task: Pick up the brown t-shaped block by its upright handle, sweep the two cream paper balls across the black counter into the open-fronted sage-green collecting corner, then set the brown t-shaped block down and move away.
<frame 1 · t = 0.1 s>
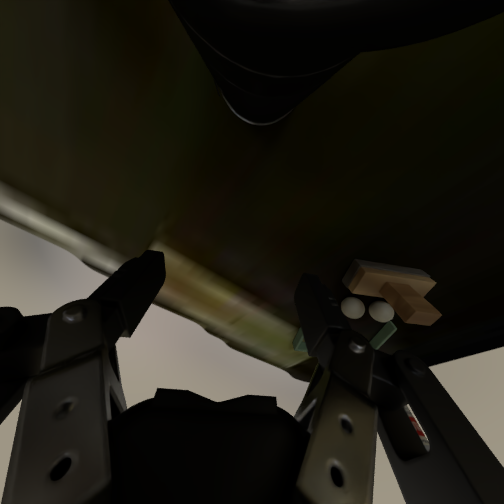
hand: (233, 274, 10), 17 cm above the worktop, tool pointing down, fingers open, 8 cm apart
paper ball b: (380, 311, 35), point 2 cm above the worktop
paper ball a: (352, 307, 34), point 2 cm above the worktop
brown t-shaped block: (380, 275, 32), on the worktop
corral: (339, 331, 41), on the worktop
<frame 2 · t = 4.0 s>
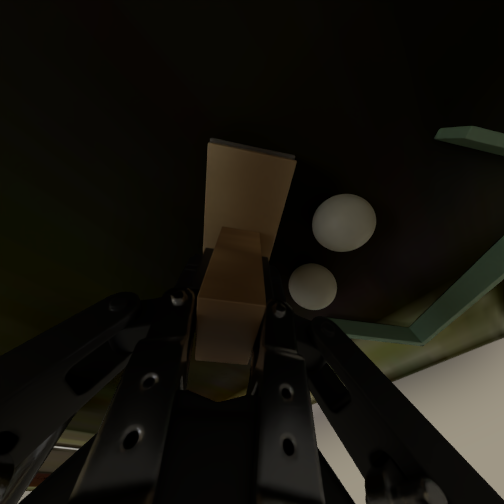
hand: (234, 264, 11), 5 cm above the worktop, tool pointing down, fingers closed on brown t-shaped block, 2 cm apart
paper ball b: (341, 223, 13), point 2 cm above the worktop
paper ball a: (311, 286, 16), point 2 cm above the worktop
brown t-shaped block: (239, 233, 15), on the worktop, touching gripper
corral: (417, 262, 17), on the worktop
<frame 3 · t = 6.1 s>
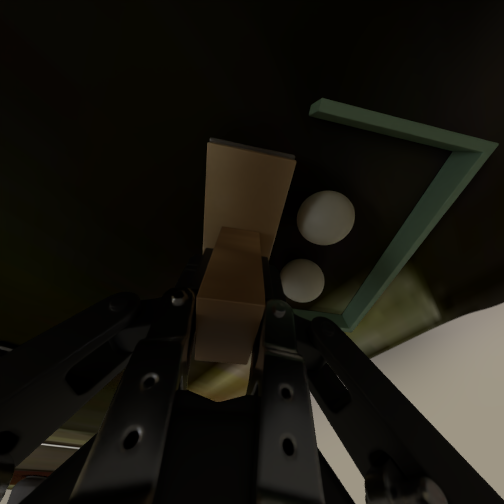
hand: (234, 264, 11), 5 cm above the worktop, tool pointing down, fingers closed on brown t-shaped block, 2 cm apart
paper ball b: (324, 218, 13), point 2 cm above the worktop, tilted 150°
paper ball a: (301, 280, 16), point 2 cm above the worktop, tilted 142°
brown t-shaped block: (239, 233, 15), point 1 cm above the worktop, touching gripper
coffee pot: (24, 475, 74), on the worktop
corral: (330, 245, 17), on the worktop
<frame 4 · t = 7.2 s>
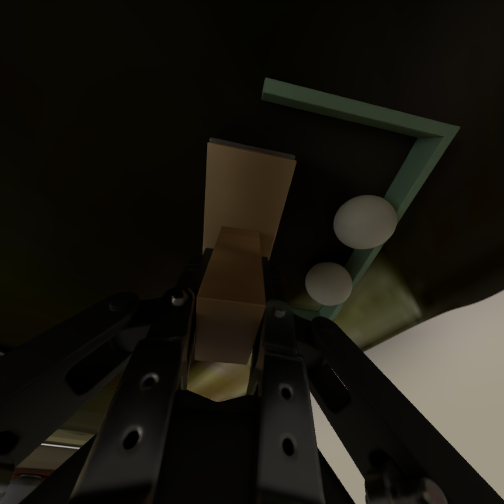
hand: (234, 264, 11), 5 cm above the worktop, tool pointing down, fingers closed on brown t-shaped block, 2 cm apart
paper ball b: (362, 222, 13), point 2 cm above the worktop, tilted 26°
paper ball a: (327, 283, 16), point 2 cm above the worktop, tilted 20°
brown t-shaped block: (239, 233, 15), point 1 cm above the worktop, touching gripper
coffee pot: (18, 474, 74), on the worktop
corral: (299, 239, 16), on the worktop
when the fingers open (5 cm above the worktop, at t = 9.5 s): brown t-shaped block stays where it is, on the worktop.
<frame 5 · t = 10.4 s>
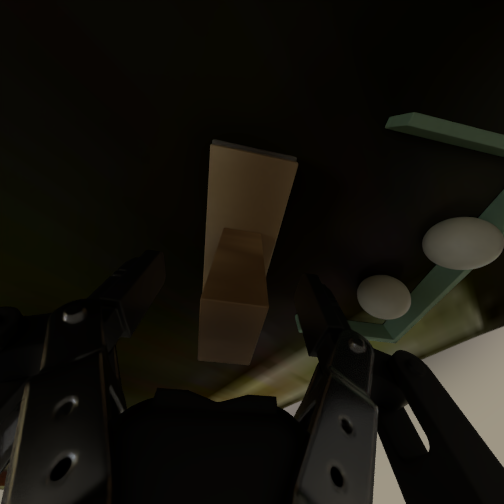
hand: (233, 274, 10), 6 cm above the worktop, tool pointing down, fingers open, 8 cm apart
paper ball b: (458, 243, 13), point 2 cm above the worktop, tilted 12°
paper ball a: (382, 296, 16), point 2 cm above the worktop, tilted 63°
brown t-shaped block: (240, 234, 15), on the worktop
corral: (383, 257, 16), on the worktop
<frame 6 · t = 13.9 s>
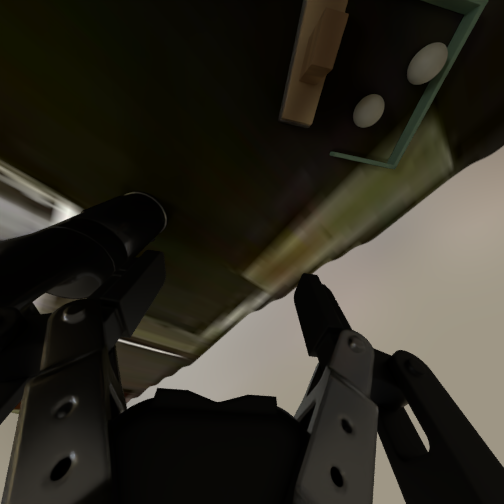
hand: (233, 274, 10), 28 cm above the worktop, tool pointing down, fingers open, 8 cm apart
paper ball b: (426, 64, 24), point 2 cm above the worktop
paper ball a: (368, 111, 27), point 2 cm above the worktop, tilted 154°
brown t-shaped block: (305, 72, 26), on the worktop
corral: (387, 93, 27), on the worktop
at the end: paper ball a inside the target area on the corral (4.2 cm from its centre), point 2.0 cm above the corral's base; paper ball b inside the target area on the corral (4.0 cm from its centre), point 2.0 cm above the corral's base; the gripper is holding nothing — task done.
